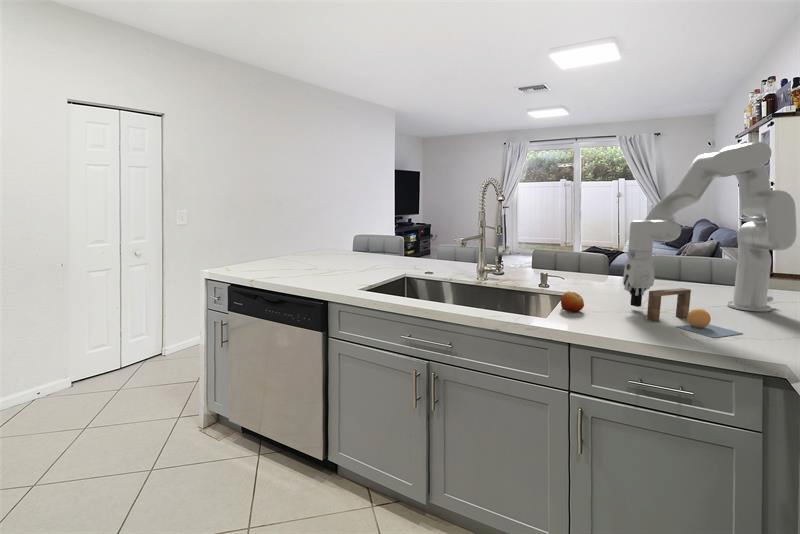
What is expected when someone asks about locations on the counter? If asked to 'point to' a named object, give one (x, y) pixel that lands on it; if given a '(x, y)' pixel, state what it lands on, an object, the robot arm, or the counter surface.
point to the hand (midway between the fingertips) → (635, 305)
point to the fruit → (572, 302)
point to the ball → (699, 318)
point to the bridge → (655, 296)
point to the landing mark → (711, 331)
